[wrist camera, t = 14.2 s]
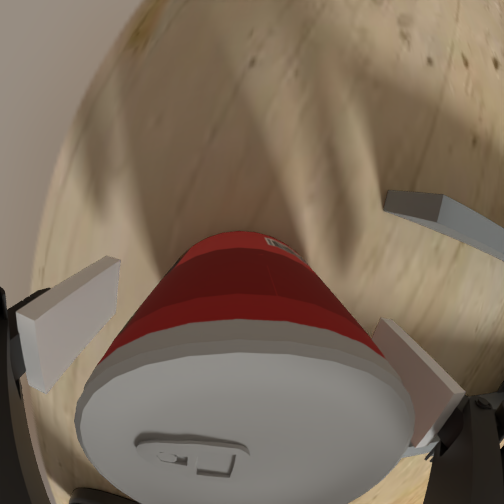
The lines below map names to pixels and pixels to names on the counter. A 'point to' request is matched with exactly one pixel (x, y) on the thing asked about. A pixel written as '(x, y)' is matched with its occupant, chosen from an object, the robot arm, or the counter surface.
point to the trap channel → (458, 227)
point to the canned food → (243, 387)
